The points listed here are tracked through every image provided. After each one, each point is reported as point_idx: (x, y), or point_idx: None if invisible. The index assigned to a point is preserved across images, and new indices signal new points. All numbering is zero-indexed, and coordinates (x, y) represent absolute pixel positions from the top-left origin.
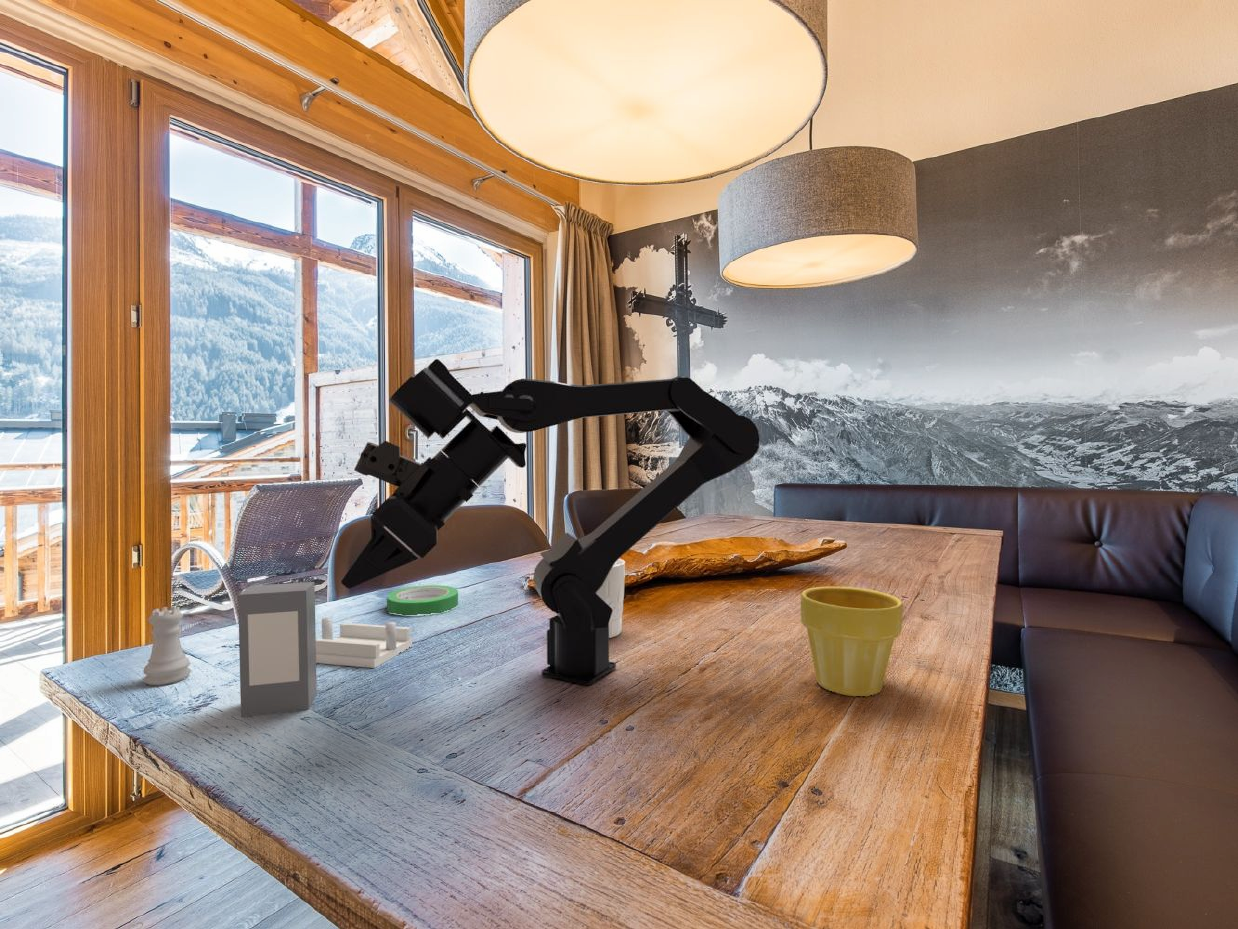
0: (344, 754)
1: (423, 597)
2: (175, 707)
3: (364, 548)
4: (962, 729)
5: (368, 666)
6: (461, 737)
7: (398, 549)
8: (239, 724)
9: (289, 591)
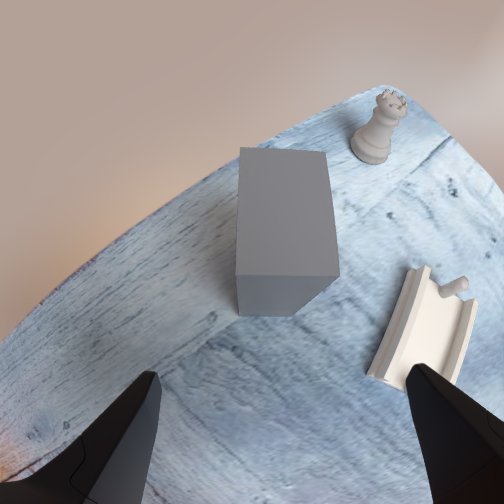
0: (108, 365)
1: None
2: None
3: (60, 453)
4: None
5: (370, 366)
6: None
7: None
8: (219, 246)
9: (237, 236)
